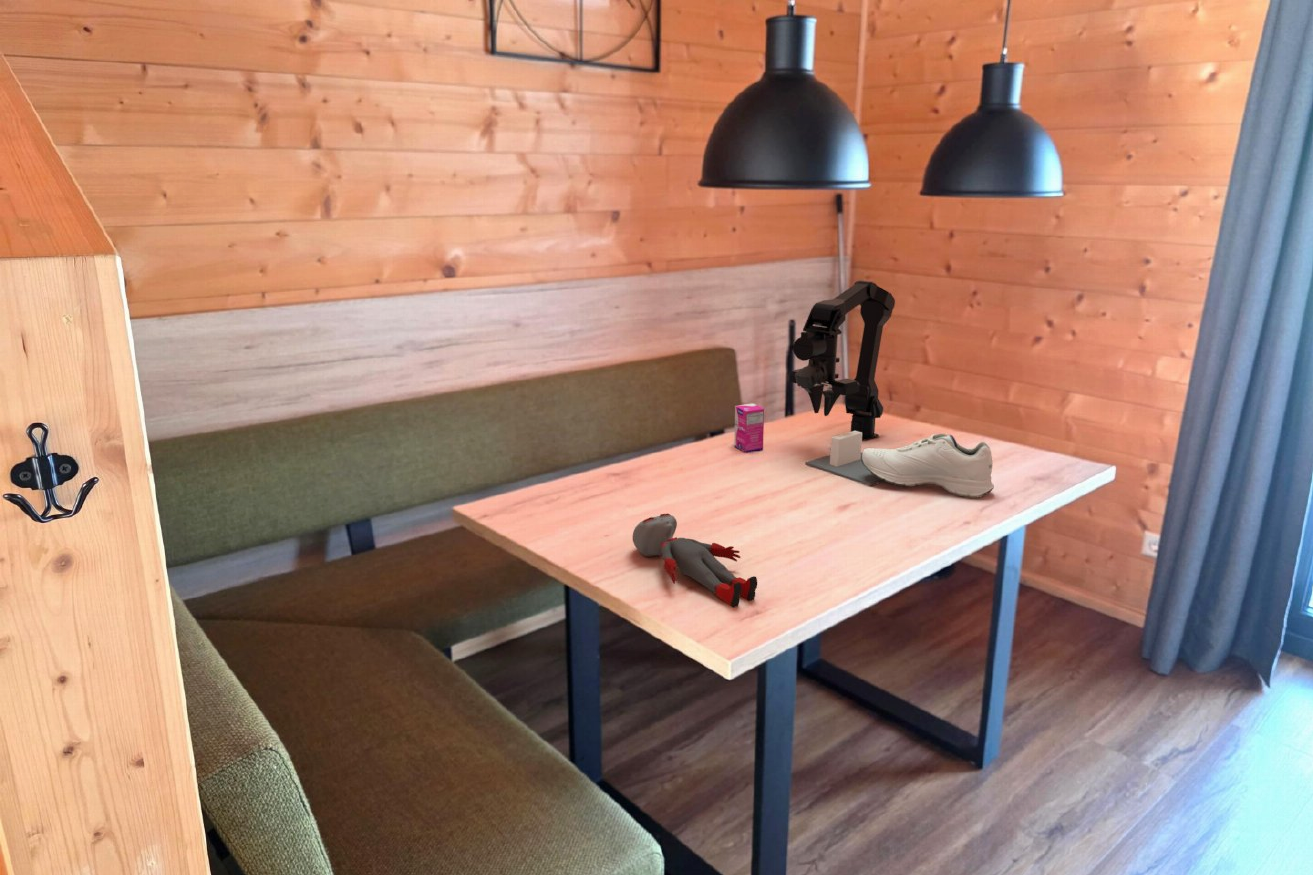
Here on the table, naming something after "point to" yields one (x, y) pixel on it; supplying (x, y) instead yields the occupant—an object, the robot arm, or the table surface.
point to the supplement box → (749, 427)
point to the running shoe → (934, 465)
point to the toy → (692, 558)
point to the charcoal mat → (846, 470)
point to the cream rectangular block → (845, 448)
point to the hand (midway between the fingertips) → (821, 414)
